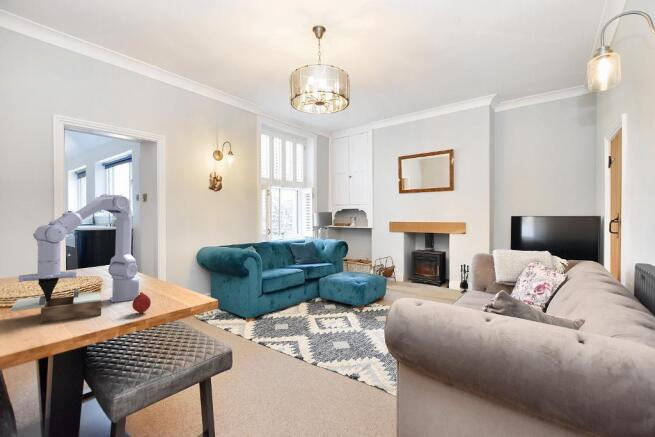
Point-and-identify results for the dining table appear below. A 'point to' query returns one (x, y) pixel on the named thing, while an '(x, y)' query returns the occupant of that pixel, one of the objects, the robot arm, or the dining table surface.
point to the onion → (141, 303)
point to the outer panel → (29, 303)
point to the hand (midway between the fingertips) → (48, 300)
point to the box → (68, 310)
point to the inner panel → (86, 297)
